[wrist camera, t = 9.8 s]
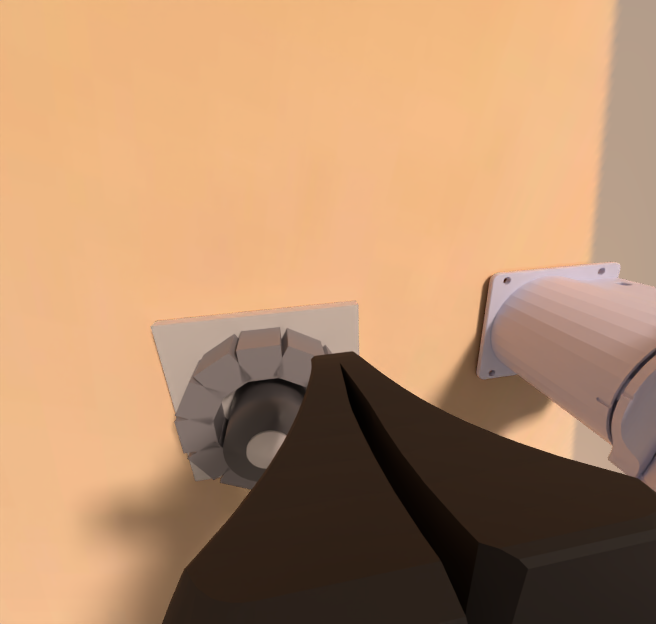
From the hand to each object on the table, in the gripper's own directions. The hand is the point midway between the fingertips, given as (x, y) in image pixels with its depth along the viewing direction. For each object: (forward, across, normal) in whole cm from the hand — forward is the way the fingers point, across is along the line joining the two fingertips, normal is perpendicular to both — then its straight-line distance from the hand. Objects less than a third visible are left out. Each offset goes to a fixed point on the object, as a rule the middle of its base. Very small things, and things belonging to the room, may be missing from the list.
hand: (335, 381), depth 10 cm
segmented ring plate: (+10, +3, +7) cm, 12 cm away
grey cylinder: (+9, +3, +7) cm, 12 cm away
